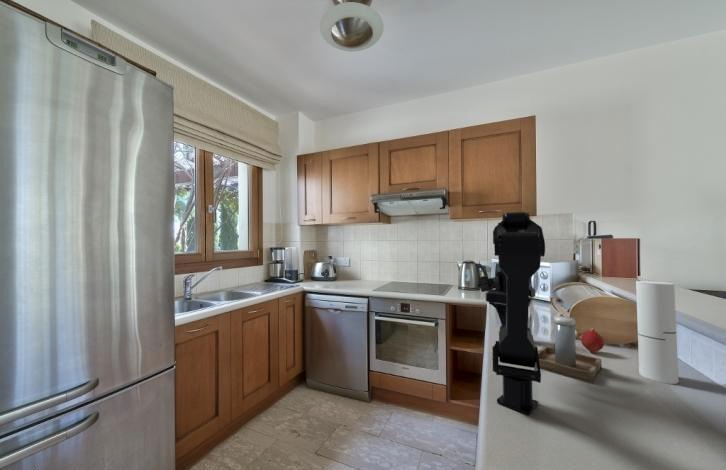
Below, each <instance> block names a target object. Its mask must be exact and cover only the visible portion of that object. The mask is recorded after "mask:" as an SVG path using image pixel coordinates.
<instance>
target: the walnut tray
mask: <svg viewBox="0 0 726 470" xmlns="http://www.w3.org/2000/svg"><path fill="white" fill-rule="evenodd" d="M538 355H539V363H540V370H543V371H546V372H550V373H554V374H557V375H560V376H564V377H568V378H571V379H575V380H577V381H582V382H584V383H588V384H590V385H591V384H593V382H594V381H595V379H596V378H597V376H598V375H599V373H600V371H602V359H601V358H598V357H593V356H589V355H585V354H581V353H577V352H576V367H574V368H573V367H569V366H565V365H561V364H558V363H555V347H551V346H547V345H544V346H543V347H541V348H540V349H538Z"/></svg>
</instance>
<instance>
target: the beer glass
mask: <svg viewBox="0 0 726 470" xmlns="http://www.w3.org/2000/svg"><path fill="white" fill-rule="evenodd" d="M534 306H535V305H534V300H532V302H531V304H530V306H529V309H528V328H529V329H530V330H531V334H532V335H533V332H532V331H533V326H534V320H535V308H534Z"/></svg>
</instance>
